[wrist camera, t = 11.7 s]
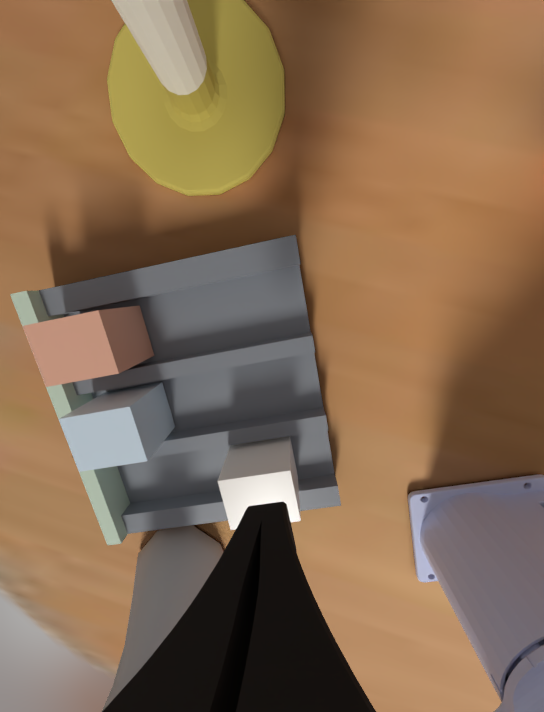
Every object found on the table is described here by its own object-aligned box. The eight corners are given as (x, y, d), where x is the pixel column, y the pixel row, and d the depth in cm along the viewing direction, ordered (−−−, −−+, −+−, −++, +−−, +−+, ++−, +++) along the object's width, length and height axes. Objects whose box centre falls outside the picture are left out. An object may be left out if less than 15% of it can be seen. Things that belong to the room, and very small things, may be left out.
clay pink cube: (139, 305, 18) (98, 310, 14) (154, 355, 18) (119, 373, 14) (79, 317, 18) (22, 325, 14) (96, 366, 19) (46, 387, 15)
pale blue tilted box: (162, 382, 19) (129, 406, 15) (175, 426, 19) (147, 461, 15) (104, 392, 19) (58, 419, 15) (120, 435, 20) (79, 471, 16)
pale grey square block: (289, 433, 19) (290, 470, 15) (297, 475, 20) (300, 521, 16) (231, 442, 19) (217, 481, 16) (241, 483, 20) (230, 529, 16)
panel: (294, 241, 18) (296, 231, 14) (334, 481, 21) (343, 514, 18) (55, 293, 19) (10, 294, 16) (132, 509, 23) (107, 545, 20)
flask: (124, 547, 24) (12, 728, 14) (194, 508, 22) (124, 675, 13) (178, 606, 25) (108, 811, 15) (246, 572, 24) (220, 770, 14)
